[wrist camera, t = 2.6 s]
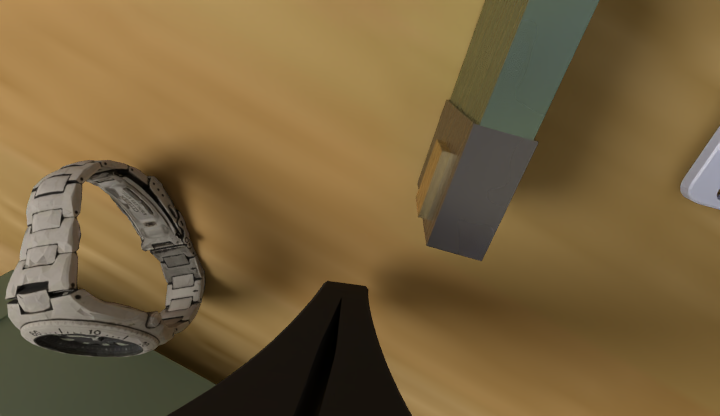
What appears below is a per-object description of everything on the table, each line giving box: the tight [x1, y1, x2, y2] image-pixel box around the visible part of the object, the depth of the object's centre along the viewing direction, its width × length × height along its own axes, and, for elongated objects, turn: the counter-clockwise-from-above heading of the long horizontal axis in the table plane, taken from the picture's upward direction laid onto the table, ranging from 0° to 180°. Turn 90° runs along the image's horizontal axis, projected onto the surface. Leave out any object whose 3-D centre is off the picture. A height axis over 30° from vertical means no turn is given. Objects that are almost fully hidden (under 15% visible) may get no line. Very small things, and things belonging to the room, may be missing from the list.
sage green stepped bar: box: [0, 270, 216, 416], centre depth 13 cm, size 12×2×4 cm, turn 56°
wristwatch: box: [5, 160, 205, 357], centre depth 10 cm, size 4×6×5 cm, turn 13°
